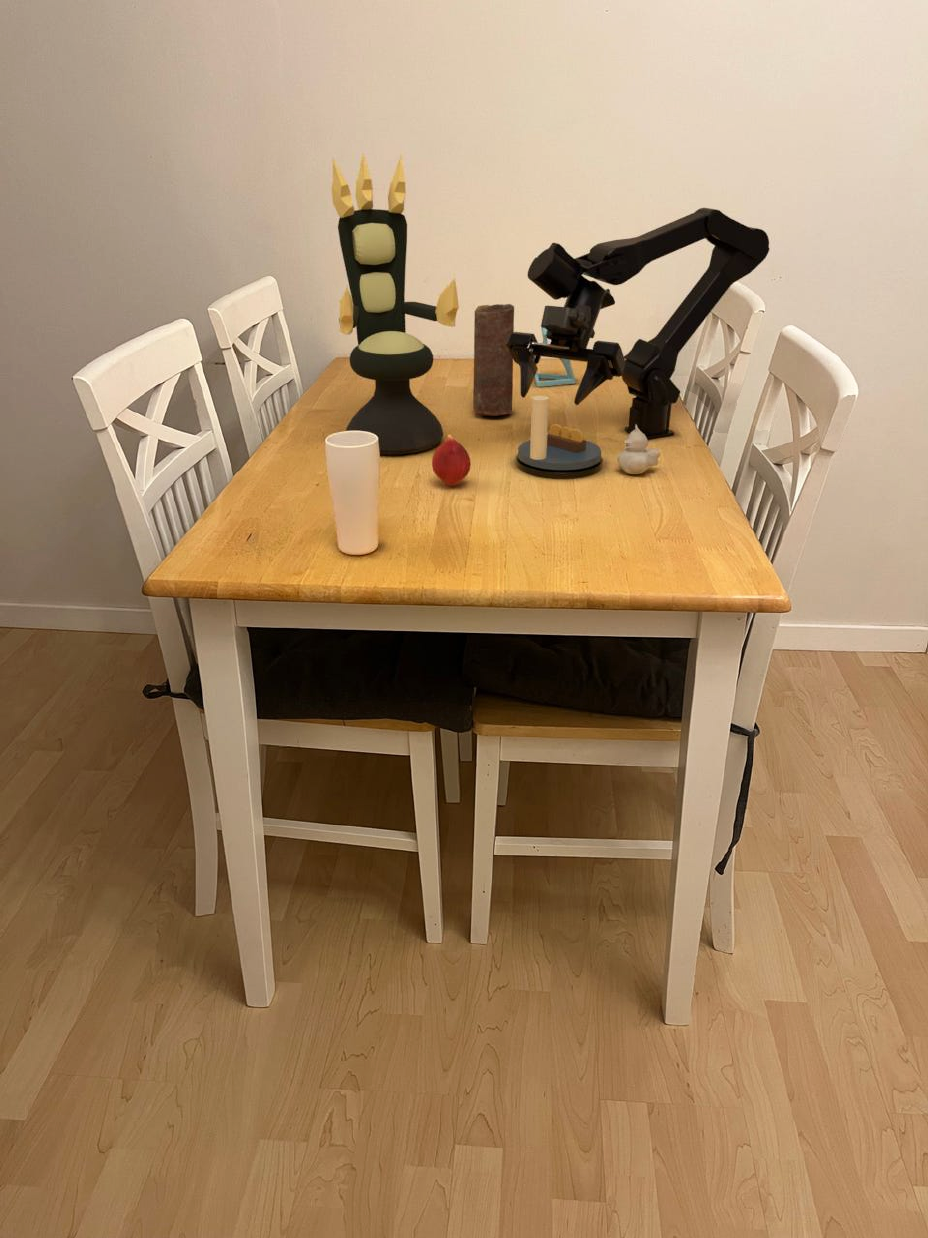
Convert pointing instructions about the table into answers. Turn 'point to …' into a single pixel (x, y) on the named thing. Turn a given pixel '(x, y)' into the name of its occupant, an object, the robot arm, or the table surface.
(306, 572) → the table surface
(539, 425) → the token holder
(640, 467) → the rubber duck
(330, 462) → the drinking glass
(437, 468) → the onion
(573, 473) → the turntable base
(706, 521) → the table surface
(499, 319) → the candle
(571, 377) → the chair
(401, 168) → the black throne
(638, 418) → the robot arm
